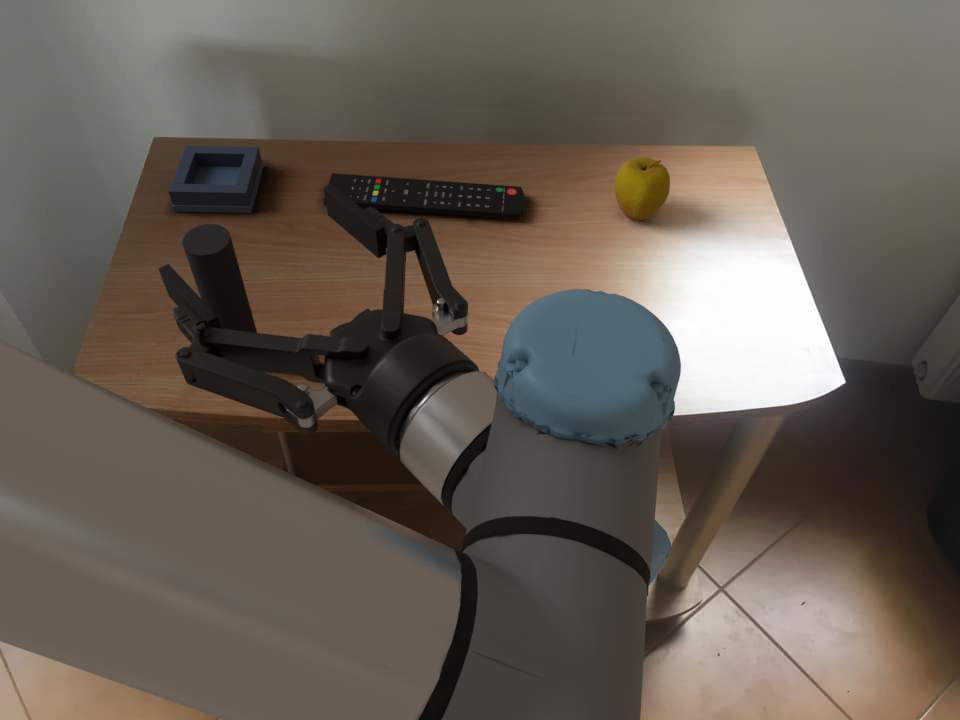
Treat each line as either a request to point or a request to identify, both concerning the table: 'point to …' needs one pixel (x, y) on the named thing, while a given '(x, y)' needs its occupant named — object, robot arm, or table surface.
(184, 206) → the socket pad
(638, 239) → the table surface
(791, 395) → the table surface
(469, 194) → the remote control
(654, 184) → the apple
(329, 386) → the robot arm
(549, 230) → the table surface
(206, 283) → the tall dark cylinder
